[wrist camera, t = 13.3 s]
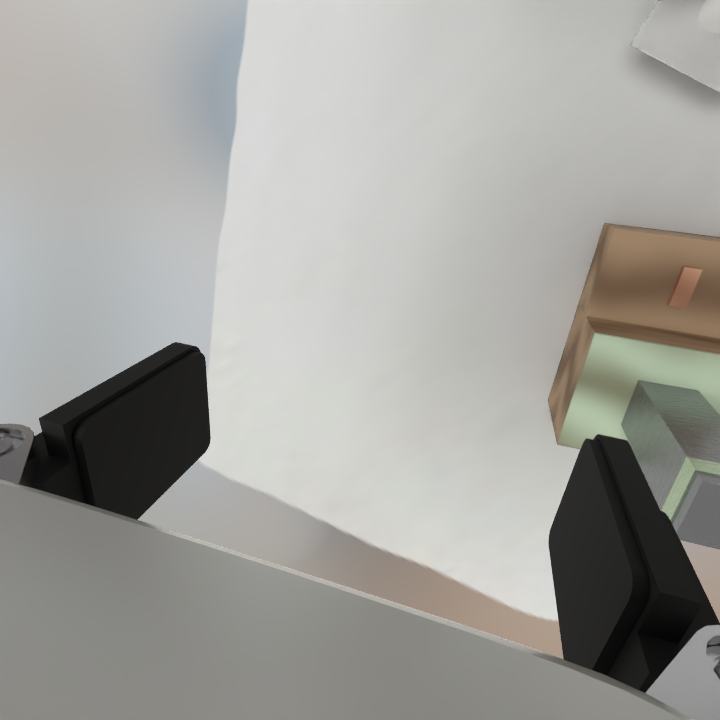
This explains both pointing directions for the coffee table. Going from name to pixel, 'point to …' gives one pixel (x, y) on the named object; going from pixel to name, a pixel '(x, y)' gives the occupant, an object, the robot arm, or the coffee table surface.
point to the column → (678, 456)
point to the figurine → (684, 38)
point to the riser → (639, 329)
